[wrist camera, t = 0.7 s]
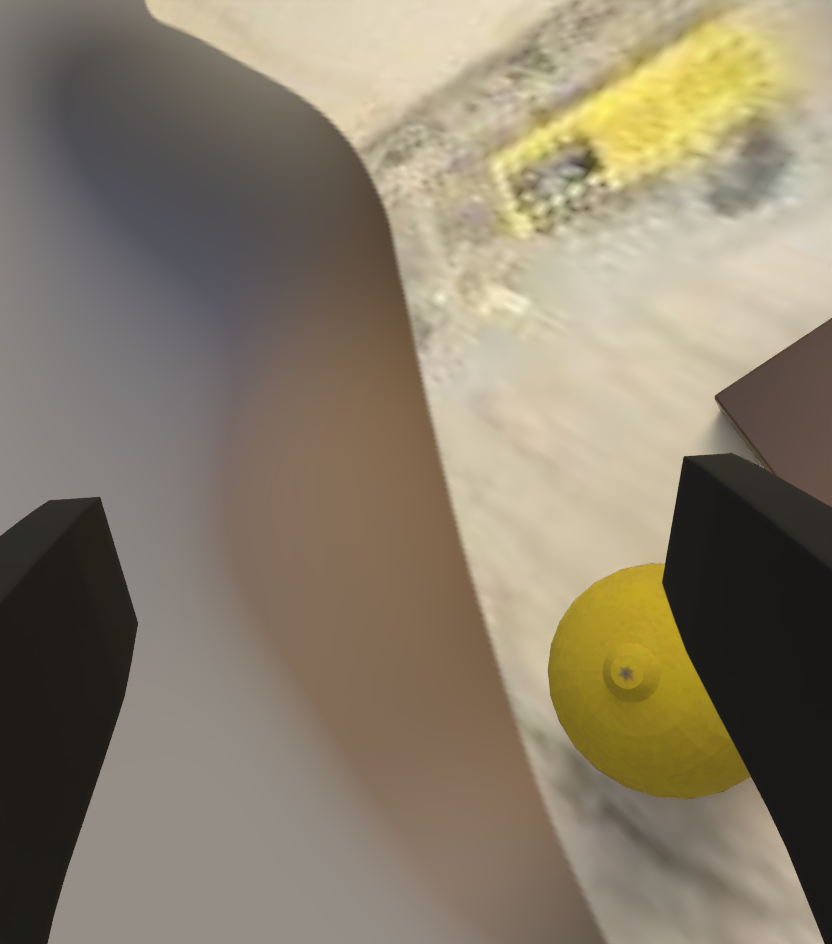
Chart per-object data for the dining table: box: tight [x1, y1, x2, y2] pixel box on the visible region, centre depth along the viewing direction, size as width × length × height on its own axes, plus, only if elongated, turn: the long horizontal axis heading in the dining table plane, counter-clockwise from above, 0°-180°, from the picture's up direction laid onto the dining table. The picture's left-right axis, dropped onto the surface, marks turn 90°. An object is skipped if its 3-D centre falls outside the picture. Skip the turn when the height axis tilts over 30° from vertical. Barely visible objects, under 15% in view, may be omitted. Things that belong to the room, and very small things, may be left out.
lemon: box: [548, 563, 750, 799], centre depth 19 cm, size 6×6×8 cm
